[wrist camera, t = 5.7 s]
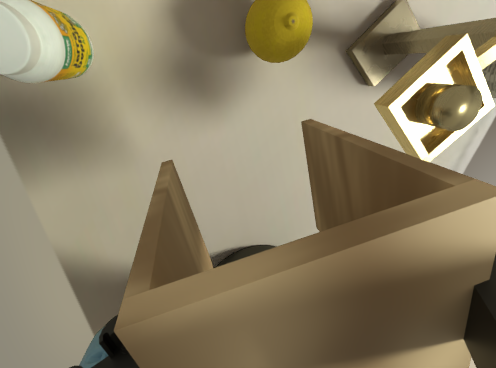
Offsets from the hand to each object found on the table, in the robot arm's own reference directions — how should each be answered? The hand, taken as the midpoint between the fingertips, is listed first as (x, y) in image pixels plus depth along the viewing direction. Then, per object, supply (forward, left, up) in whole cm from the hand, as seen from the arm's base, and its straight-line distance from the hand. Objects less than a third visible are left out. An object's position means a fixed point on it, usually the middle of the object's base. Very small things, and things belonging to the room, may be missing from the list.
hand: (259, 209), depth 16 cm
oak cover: (0, 0, -2) cm, 2 cm away
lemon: (+11, +5, -16) cm, 20 cm away
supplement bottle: (-4, +17, -16) cm, 24 cm away
